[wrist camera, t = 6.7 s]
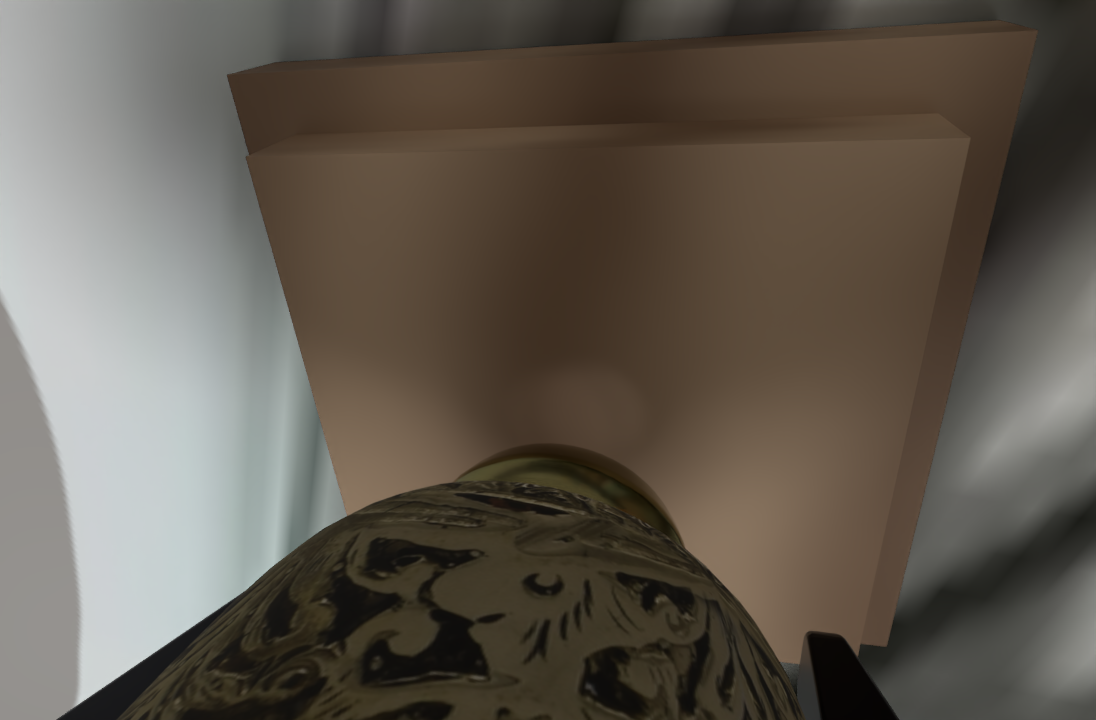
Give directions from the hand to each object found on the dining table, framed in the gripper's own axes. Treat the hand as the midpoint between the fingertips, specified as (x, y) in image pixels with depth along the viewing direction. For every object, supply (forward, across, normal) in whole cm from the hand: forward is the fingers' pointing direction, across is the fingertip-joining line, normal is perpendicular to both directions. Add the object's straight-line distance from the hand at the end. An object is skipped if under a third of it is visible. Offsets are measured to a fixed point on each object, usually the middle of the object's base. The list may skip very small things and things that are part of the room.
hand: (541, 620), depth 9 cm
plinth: (+7, 0, 0) cm, 7 cm away
